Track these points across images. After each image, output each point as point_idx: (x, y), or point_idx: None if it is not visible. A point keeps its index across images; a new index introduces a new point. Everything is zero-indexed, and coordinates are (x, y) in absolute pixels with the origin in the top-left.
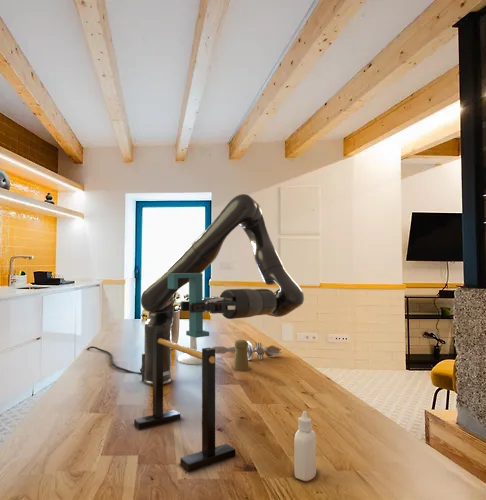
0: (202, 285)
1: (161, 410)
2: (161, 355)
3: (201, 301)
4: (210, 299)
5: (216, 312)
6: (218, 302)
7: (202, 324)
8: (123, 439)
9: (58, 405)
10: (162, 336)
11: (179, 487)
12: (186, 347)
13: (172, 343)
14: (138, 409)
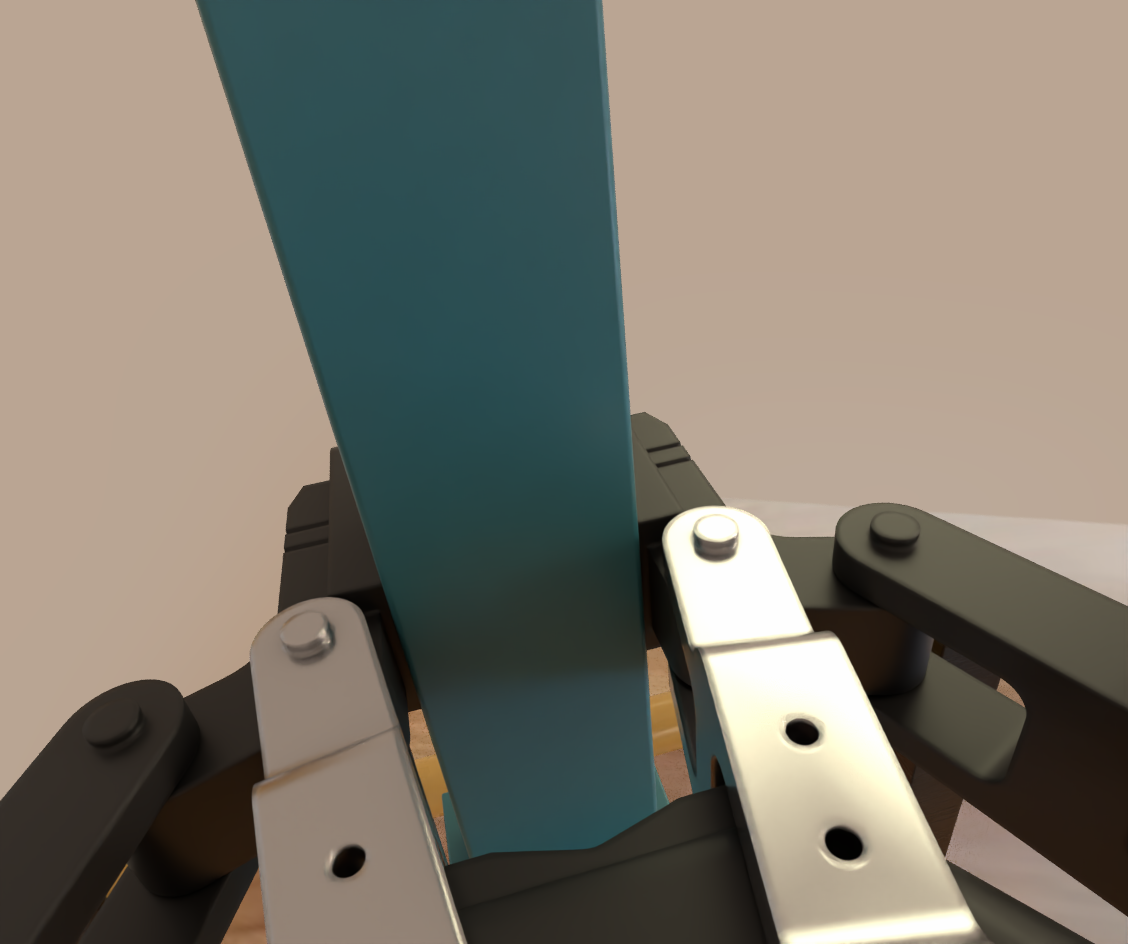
0: (274, 241)
1: None
2: (903, 758)
3: (381, 562)
4: (385, 730)
5: (116, 913)
6: (14, 866)
7: (466, 847)
8: (672, 788)
9: (1048, 568)
10: (935, 647)
11: (232, 940)
12: (431, 765)
13: (656, 695)
14: (1070, 911)
